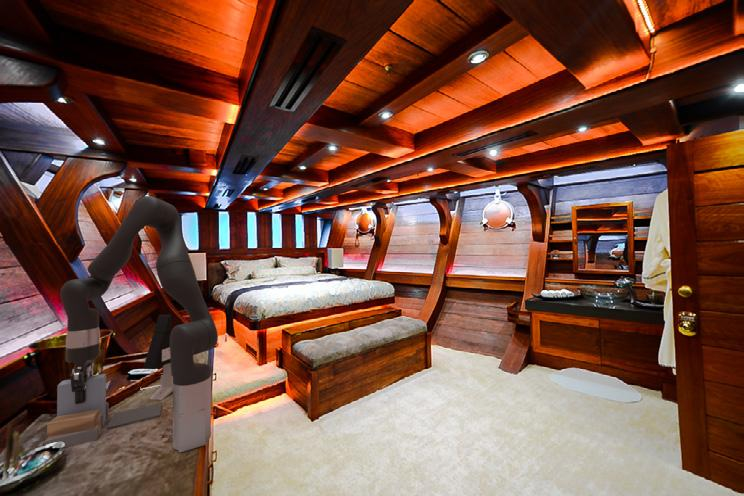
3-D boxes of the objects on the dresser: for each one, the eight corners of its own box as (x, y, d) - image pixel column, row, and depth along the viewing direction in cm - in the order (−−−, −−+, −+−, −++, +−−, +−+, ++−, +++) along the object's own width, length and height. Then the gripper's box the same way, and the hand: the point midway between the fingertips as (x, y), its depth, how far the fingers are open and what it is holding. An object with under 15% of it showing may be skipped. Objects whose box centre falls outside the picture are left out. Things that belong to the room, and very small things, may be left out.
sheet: (102, 426, 91) (103, 377, 91) (56, 437, 86) (57, 385, 86) (105, 420, 94) (106, 373, 95) (61, 430, 89) (62, 380, 89)
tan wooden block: (97, 439, 85) (97, 421, 85) (44, 452, 79) (44, 433, 79) (108, 417, 96) (108, 402, 96) (62, 428, 90) (62, 411, 90)
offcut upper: (94, 428, 85) (94, 415, 85) (47, 437, 81) (47, 424, 81) (100, 421, 88) (100, 409, 88) (55, 429, 84) (55, 416, 84)
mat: (159, 416, 96) (159, 415, 96) (106, 429, 89) (106, 427, 89) (161, 404, 104) (162, 402, 104) (113, 415, 98) (113, 413, 98)
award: (154, 403, 105) (154, 318, 106) (142, 402, 106) (142, 318, 107) (188, 385, 120) (189, 311, 121) (178, 384, 121) (178, 310, 122)
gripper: (93, 347, 87) (92, 406, 86) (105, 336, 99) (104, 388, 98) (57, 351, 83) (56, 414, 82) (74, 340, 95) (73, 394, 94)
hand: (82, 399), depth 90 cm, fingers closed on sheet, 4 cm apart
